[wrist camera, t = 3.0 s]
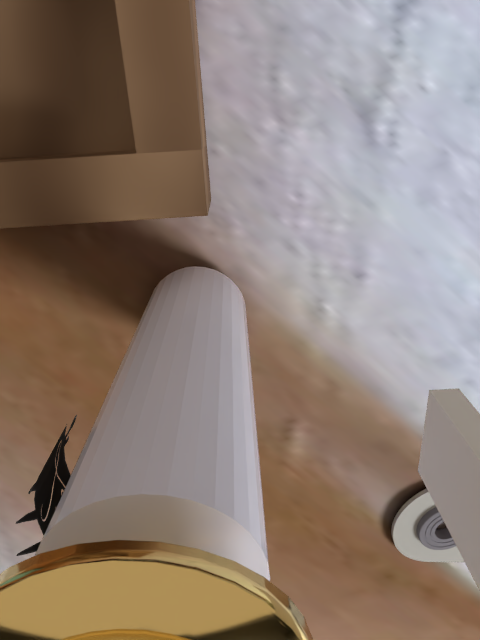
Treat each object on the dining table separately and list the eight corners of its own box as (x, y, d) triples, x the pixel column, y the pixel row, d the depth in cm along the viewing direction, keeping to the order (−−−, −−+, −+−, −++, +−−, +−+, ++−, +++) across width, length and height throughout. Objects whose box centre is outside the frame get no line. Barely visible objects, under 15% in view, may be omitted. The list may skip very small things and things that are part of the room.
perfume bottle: (229, 228, 20) (230, 1294, 2) (275, 334, 22) (487, 1298, 4) (116, 277, 21) (-660, 1350, 3) (172, 375, 23) (-44, 1330, 5)
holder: (-58, 215, 20) (-122, 236, 16) (-173, -143, 15) (-301, -228, 11) (211, 198, 20) (207, 215, 16) (181, -165, 15) (166, -257, 11)
